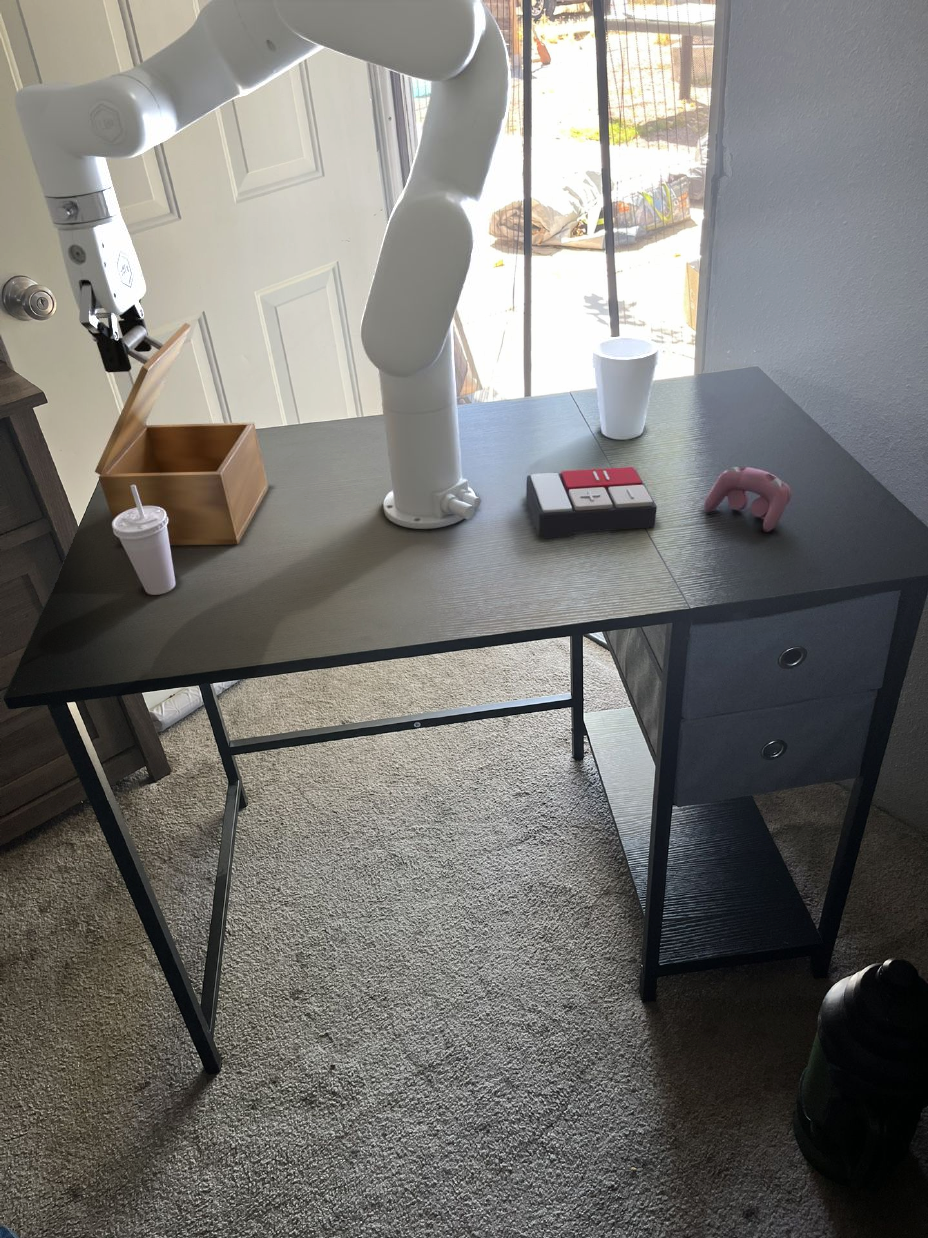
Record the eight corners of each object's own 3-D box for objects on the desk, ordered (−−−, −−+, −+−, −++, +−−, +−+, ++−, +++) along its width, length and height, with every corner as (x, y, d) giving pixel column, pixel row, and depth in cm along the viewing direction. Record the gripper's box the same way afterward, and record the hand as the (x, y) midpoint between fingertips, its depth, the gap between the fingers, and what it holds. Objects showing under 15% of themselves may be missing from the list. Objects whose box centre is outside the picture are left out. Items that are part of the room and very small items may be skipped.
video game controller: (782, 534, 117) (801, 480, 115) (768, 533, 113) (787, 478, 111) (713, 511, 122) (730, 460, 121) (698, 510, 119) (715, 457, 117)
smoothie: (172, 602, 111) (140, 500, 103) (124, 599, 112) (89, 498, 104) (195, 573, 116) (166, 473, 108) (148, 570, 117) (117, 471, 109)
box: (268, 488, 133) (254, 422, 127) (237, 544, 121) (220, 474, 115) (162, 490, 135) (143, 425, 129) (121, 545, 123) (98, 476, 117)
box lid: (191, 325, 120) (153, 301, 119) (148, 369, 107) (105, 343, 106) (145, 423, 129) (109, 402, 128) (100, 475, 117) (59, 452, 115)
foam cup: (664, 426, 141) (670, 343, 133) (631, 449, 136) (635, 363, 128) (613, 413, 146) (615, 332, 139) (579, 434, 141) (579, 351, 133)
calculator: (658, 501, 115) (540, 509, 114) (654, 531, 118) (539, 539, 116) (636, 463, 124) (526, 469, 123) (633, 491, 127) (525, 498, 125)
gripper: (83, 224, 97) (132, 386, 108) (142, 189, 111) (181, 335, 122) (16, 228, 98) (72, 388, 109) (84, 193, 112) (127, 338, 123)
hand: (129, 359), depth 115 cm, fingers closed on box lid, 6 cm apart
